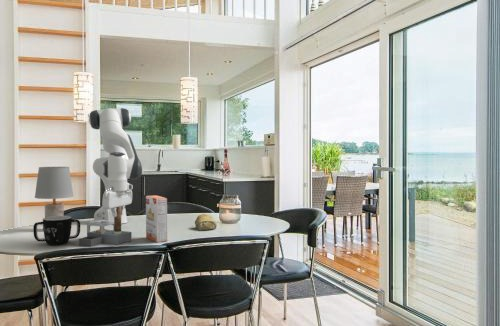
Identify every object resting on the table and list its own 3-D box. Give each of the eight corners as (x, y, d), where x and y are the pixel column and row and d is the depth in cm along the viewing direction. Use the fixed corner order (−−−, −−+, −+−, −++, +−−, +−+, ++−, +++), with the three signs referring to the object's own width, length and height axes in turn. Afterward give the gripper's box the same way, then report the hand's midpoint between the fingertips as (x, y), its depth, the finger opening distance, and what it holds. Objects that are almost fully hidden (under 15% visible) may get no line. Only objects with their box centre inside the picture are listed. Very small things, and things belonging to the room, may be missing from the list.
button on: (112, 241, 201) (112, 231, 201) (117, 239, 204) (117, 230, 204) (118, 241, 199) (118, 232, 199) (123, 240, 203) (123, 230, 202)
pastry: (203, 225, 246) (202, 212, 246) (221, 227, 240) (221, 213, 240) (188, 229, 233) (188, 215, 233) (208, 231, 228) (208, 217, 228)
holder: (79, 245, 193) (79, 238, 193) (90, 242, 200) (90, 235, 200) (91, 246, 191) (91, 239, 190) (102, 243, 197) (102, 237, 197)
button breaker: (96, 239, 204) (96, 229, 204) (101, 237, 208) (101, 228, 208) (102, 239, 203) (102, 230, 203) (107, 238, 206) (107, 229, 206)
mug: (29, 245, 192) (29, 219, 191) (57, 239, 207) (57, 214, 206) (57, 248, 186) (57, 221, 186) (84, 241, 201) (84, 216, 201)
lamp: (43, 234, 217) (43, 168, 216) (29, 229, 230) (28, 167, 229) (79, 229, 231) (79, 167, 230) (64, 225, 244) (63, 166, 243)
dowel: (112, 231, 200) (112, 197, 200) (116, 230, 203) (116, 196, 203) (118, 231, 199) (118, 197, 199) (122, 230, 203) (122, 197, 202)
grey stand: (86, 240, 203) (86, 223, 202) (101, 237, 212) (101, 220, 212) (117, 244, 195) (117, 225, 195) (131, 240, 205) (131, 222, 204)
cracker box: (145, 237, 211) (145, 195, 210) (156, 236, 214) (156, 194, 213) (155, 243, 199) (155, 198, 198) (167, 241, 202) (167, 197, 202)
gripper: (110, 188, 190) (111, 219, 190) (134, 185, 210) (134, 213, 210) (98, 188, 192) (98, 219, 192) (123, 185, 211) (123, 212, 212)
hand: (117, 216), depth 201 cm, fingers closed on dowel, 3 cm apart
